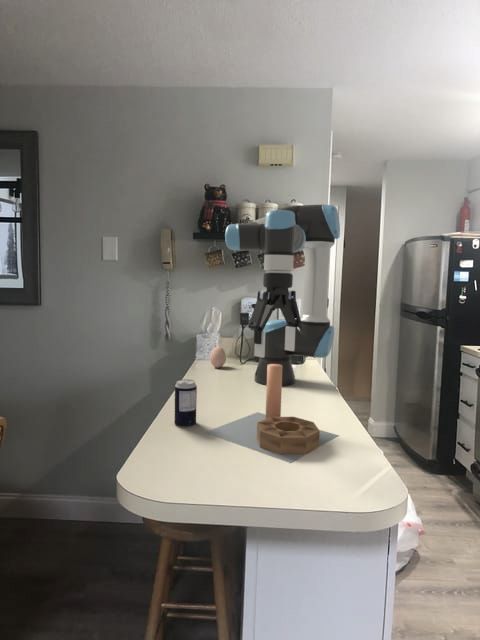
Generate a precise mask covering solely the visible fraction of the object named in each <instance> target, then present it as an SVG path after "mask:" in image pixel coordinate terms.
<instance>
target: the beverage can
mask: <svg viewBox="0 0 480 640" xmlns="http://www.w3.org/2000/svg"><path fill="white" fill-rule="evenodd" d="M197 389H198V386H197V384H196V381H195V380H194V379H189V378H188V379H179V380H176V384H175V385H174V424H175V425H176V426H177V427H179V428H189V427H193V426H195V425H196V423H197V395H198V393H197V392H198V390H197Z"/></svg>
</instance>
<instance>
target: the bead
mask: <svg viewBox="0 0 480 640" xmlns="http://www.w3.org/2000/svg"><path fill="white" fill-rule="evenodd" d="M320 430H321V429H319V428H318V426H317V425H316V424H315V423H314V421H312V420H311V421H310V420H307V419H304V418H299V417H296V416H281V417H269V418H267V419H264V420H262V421H259V422H257V441H258V444H259V447H260V448H262V449H265V450H268V451H271V452H274V453H277V454H280V455H302V454H306V455H308V454H310V453H311V452H313V451H315V450H317V449H318V448H320V447H319V433H320ZM316 448H317V449H316ZM314 449H315V450H314ZM309 452H310V453H309ZM307 453H308V454H307Z"/></svg>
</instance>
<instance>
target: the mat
mask: <svg viewBox="0 0 480 640" xmlns="http://www.w3.org/2000/svg"><path fill="white" fill-rule="evenodd" d="M264 419H266V413H261V412H258V411H257V412H254V413H252V414H249V415H246V416H243V417H241V418H238V419H235V420H232V421H231V422H228V423H225V424H222V425H220V426H217V427H215V428H211V429H208V430H206V431H204V433H205V434H208V435H211V436H213V437H216V438H218V439H221V440H224V441H228V442H229V443H233V444H236V445H238V446H241V447H244V448H247V449H250V450H252V451H256V452H258V453H260V454H263V455H266V456H270V457H272V458H274V459H278V460H280V461H284V462H286V463H288V464H292V463H294V462H295V461H297V460H299V459H300V458H302V457H305V456H306V455H308V454H310V453H311V452H309V453H307V454H302V455H280V454H277V453H274V452H271V451H268V450H265V449H262V448H260V447H259V444H258V441H257V422H259V421H262V420H264ZM319 430H320V433H319V447H318V448H320V447H322V446H324V445H325V444H327V443H329V442H331V441H333V440H334V439H336V438H337V437H340V434H335V433H331V432H328V431H325V430H321V429H319ZM318 448H316V449H314V450H313V451H315V450H317V449H318Z"/></svg>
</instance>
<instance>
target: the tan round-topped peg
mask: <svg viewBox="0 0 480 640" xmlns="http://www.w3.org/2000/svg"><path fill="white" fill-rule="evenodd" d="M282 388H283V386H282V365H280V364H268V365H267V385H266V392H265V393H266V395H265V414H266V419H267V418H269V417H282V416H281V414H282V413H281V411H282Z"/></svg>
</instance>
